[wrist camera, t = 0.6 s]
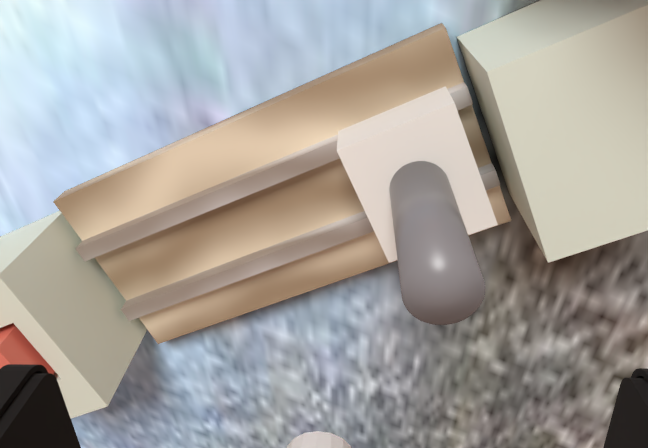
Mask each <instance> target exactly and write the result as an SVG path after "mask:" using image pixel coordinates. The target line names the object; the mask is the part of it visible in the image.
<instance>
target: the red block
mask: <svg viewBox="0 0 648 448" xmlns="http://www.w3.org/2000/svg"><path fill="white" fill-rule="evenodd" d="M8 364H27V365H43V366H44V367H45V368H46V369H47V371H48V373H51V374H54V373H55V371H54V370H53V369H52V367H51V366H50V365H49V364H48V363H47V362H46V360H45V359H44V358H43V357H42V356H41V355H40V353H39V352H38V351H37V350H36V349H35V348H34V347H33V345H32V344H31V343H30V342H29V341H28V340H27V338H26V337H25V336H24V335H23V334H22V333H21V331H20V330H19V329H18V328H17V327H16V326H15V325H14V323H12V324H9V325H6V326H4V327H1V328H0V369H1V368H2V367H3V366H5V365H8Z"/></svg>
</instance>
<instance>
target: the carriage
mask: <svg viewBox="0 0 648 448" xmlns="http://www.w3.org/2000/svg"><path fill="white" fill-rule="evenodd" d="M337 153H338V155H339V157H340V159H341V161H342V163H343V166H344V168H345V170H346V172H347V174H348V176H349V178H350V180H351V183H352V185H353V187H354V189H355V191H356V193H357V195H358V198H359V200H360V202H361V204H362V206H363V208H364V210H365V213H366V215H367V217H368V219H369V221H370V223H371V225H372V228H373V230H374V232H375V234H376V236H377V238H378V240H379V243H380V245H381V247H382V249H383V251H384V253H385V255H386V258H387V260H388V262H389V263H390V262H393V261H396V260H398V268H399V276H400V285H401V293H402V299H403V302H404V305H405V307H406V308H407V310H408V311H409V312H410V313H411V314H412V315H413V316H414V317H416V318H417V319H419V320H421V321H423V322H426V323H430V324H435V325H447V324H452V323H456V322H459V321H462V320H464V319H466V318H467V317H469V316H470V315H472V314H473V313H474V312H475V311H476V310H477V309H478V308H479V306H480V305H481V303H482V301H483V299H484V295H485V282H484V278H483V276H482V273H481V270H480V267H479V264H478V261H477V259H476V256H475V253H474V250H473V247H472V245H471V242H470V239H469V236H468V235H470V234H473V233H476V232H479V231H482V230H484V229H487V228H490V227H493V226H496V225H498V224H497V221H496V218H495V216H494V213H493V210H492V207H491V204H490V201H489V199H488V196H487V193H486V190H485V187H484V184H483V182H482V179H481V176H480V173H479V170H478V168H477V165H476V162H475V159H474V156H473V153H472V151H471V148H470V145H469V142H468V139H467V136H466V134H465V131H464V128H463V125H462V122H461V120H460V117H459V114H458V111H457V108H456V105H455V103H454V101H453V99H452V97H451V95H450V93H449V91H448V90H447V88H446V86H445V87H442V88H440V89H438V90H435V91H433V92H430V93H428V94H426V95H423V96H421V97H419V98H416V99H414V100H411V101H409V102H407V103H404V104H402V105H399V106H397V107H395V108H392V109H390V110H387V111H385V112H383V113H380V114H378V115H375V116H373V117H371V118H368V119H366V120H363V121H361V122H359V123H356V124H354V125H352V126H349V127H347V128H344V129H342V130H340V131H338V141H337Z"/></svg>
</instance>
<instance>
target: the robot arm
mask: <svg viewBox="0 0 648 448" xmlns="http://www.w3.org/2000/svg"><path fill="white" fill-rule="evenodd" d="M0 448H81V447H80V444H79V442H78V439H77V436H76V433H75V430H74V427H73V424H72V422H71V419H70V416H69V413H68V410H67V407H66V404H65V402H64V399H63V396H62V393H61V390H60V387H59V384H58V382H57V379H56V377H55V375H53V374H51V373H48V371H47V369H46V368H45V367H44V366H43V365H27V364H8V365H5V366H3V367H2V368H1V369H0ZM604 448H648V369H636V370H635V371H634V372H633V374H632V376H631V378H624V379H623V380H622V382H621V385H620V388H619V392H618V396H617V399H616V403H615V407H614V411H613V414H612V418H611V422H610V426H609V429H608V433H607V437H606V440H605V444H604Z"/></svg>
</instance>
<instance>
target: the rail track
mask: <svg viewBox="0 0 648 448" xmlns="http://www.w3.org/2000/svg"><path fill="white" fill-rule="evenodd" d="M445 86H446V88H447V90H448V91H449V93H450V95H451V97H452V99H453V101H454V103H455V105H456V108H457V111H458V114H459V117H460V120H461V122H462V125H463V128H464V131H465V134H466V136H467V139H468V142H469V145H470V148H471V151H472V153H473V156H474V159H475V162H476V165H477V168H478V170H479V173H480V176H481V179H482V182H483V184H484V187H485V190H486V193H487V196H488V199H489V201H490V204H491V207H492V210H493V213H494V216H495V218H496V221H497V224H498V225H500V224H503V223H506V222H509V221H511V218H510V215H509V212H508V209H507V207H506V204H505V201H504V198H503V195H502V192H501V189H500V182H499V179H498V176H497V173H496V170H495V168H494V166H493V164H492V163H491V160H490V157H489V154H488V151H487V148H486V145H485V142H484V139H483V136H482V133H481V130H480V127H479V124H478V121H477V119H476V116H475V113H474V110H473V107H472V105H473V102H472V99H471V96H470V93H469V90H468V88H467V86H466V84H465V83H464V80H463V77H462V75H461V72H460V69H459V66H458V63H457V60H456V57H455V54H454V51H453V48H452V45H451V42H450V39H449V36H448V34H447V31H446V28H445V26H444V25H443V24H442V23H441V24H438V25H436V26H434V27H432V28H429V29H427V30H425V31H423V32H420V33H418V34H416V35H414V36H411V37H409V38H407V39H405V40H402V41H400V42H398V43H396V44H394V45H391V46H389V47H387V48H385V49H382V50H380V51H378V52H376V53H373V54H371V55H369V56H367V57H364V58H362V59H360V60H358V61H355V62H353V63H351V64H349V65H346V66H344V67H342V68H340V69H338V70H335V71H333V72H331V73H329V74H326V75H324V76H322V77H320V78H317V79H315V80H313V81H311V82H308V83H306V84H304V85H302V86H299V87H297V88H295V89H293V90H290V91H288V92H286V93H284V94H281V95H279V96H277V97H275V98H273V99H270V100H268V101H266V102H264V103H261V104H259V105H257V106H255V107H252V108H250V109H248V110H246V111H243V112H241V113H239V114H237V115H234V116H232V117H230V118H228V119H225V120H223V121H221V122H219V123H216V124H214V125H212V126H210V127H208V128H205V129H203V130H201V131H199V132H196V133H194V134H192V135H190V136H187V137H185V138H183V139H181V140H178V141H176V142H174V143H172V144H169V145H167V146H165V147H163V148H160V149H158V150H156V151H154V152H152V153H149V154H147V155H145V156H143V157H140V158H138V159H136V160H134V161H131V162H129V163H127V164H125V165H122V166H120V167H118V168H116V169H113V170H111V171H109V172H107V173H104V174H102V175H100V176H98V177H95V178H93V179H91V180H89V181H87V182H84V183H82V184H80V185H78V186H75V187H73V188H71V189H69V190H66V191H64V192H63V193H62V194H61V195H60V196H59V197H58V198H57V199H56V200H55V201H53V202H54V203H55V205H56V206H57V207H58V209H59V210H60V211H61V213H62V214H63V215H64V217H65V218H66V220H67V221H68V222H69V224H70V225H71V226H72V228H73V229H74V230H75V232H76V233H77V234H78V236H79V237H80V239H81V240H82V242H81V243H80V244H79V245H78V246H77V247H76V251H77V252H78V253H79V255H80V256H81V257H82V259H83V260H84V261H88V260H90V259H92V258H95V259H96V260H97V262H98V263H99V264H100V266H101V267H102V268H103V270H104V271H105V273H106V274H107V275H108V277H109V278H110V279H111V281H112V282H113V283H114V285H115V286H116V287H117V289H118V290H119V292H120V293H121V294H122V296H123V297H124V298H125V300H126V302H125V303H124V305H123V307H122V308H121V311H122V312H123V313H124V315H125V316H126V317H127V319H128V320H129V321H131V320H133V319H136V318H139V319H140V320H141V321H142V323H143V324H144V326H145V327H146V328H147V330H148V331H149V332H150V334H151V335H152V336H153V338H154V339H155V340H156V342H157V343H158V344H159V343H162V342H165V341H168V340H171V339H174V338H177V337H180V336H182V335H185V334H188V333H191V332H194V331H197V330H200V329H202V328H205V327H208V326H211V325H214V324H217V323H220V322H222V321H225V320H228V319H231V318H234V317H237V316H240V315H243V314H245V313H248V312H251V311H254V310H257V309H260V308H263V307H265V306H268V305H271V304H274V303H277V302H280V301H283V300H285V299H288V298H291V297H294V296H297V295H300V294H303V293H306V292H308V291H311V290H314V289H317V288H320V287H323V286H326V285H328V284H331V283H334V282H337V281H340V280H343V279H346V278H349V277H351V276H354V275H357V274H360V273H363V272H366V271H369V270H371V269H374V268H377V267H380V266H383V265H386V264H389V262H388V260H387V258H386V255H385V253H384V251H383V249H382V247H381V245H380V243H379V240H378V238H377V236H376V234H375V232H374V230H373V228H372V225H371V223H370V221H369V219H368V217H367V215H366V213H365V210H364V208H363V206H362V204H361V202H360V200H359V198H358V195H357V193H356V191H355V189H354V187H353V185H352V183H351V180H350V178H349V176H348V174H347V172H346V170H345V168H344V166H343V163H342V161H341V159H340V157H339V155H338V153H337V141H338V131H340V130H342V129H344V128H347V127H349V126H352V125H354V124H356V123H359V122H361V121H363V120H366V119H368V118H371V117H373V116H375V115H378V114H380V113H383V112H385V111H387V110H390V109H392V108H395V107H397V106H399V105H402V104H404V103H407V102H409V101H411V100H414V99H416V98H419V97H421V96H423V95H426V94H428V93H430V92H433V91H435V90H438V89H440V88H442V87H445ZM496 226H497V225H496ZM493 227H495V226H493ZM490 228H492V227H490ZM487 229H489V228H487ZM484 230H486V229H484ZM482 231H483V230H482ZM479 232H480V231H479ZM476 233H477V232H476ZM473 234H475V233H473ZM470 235H472V234H470ZM468 236H469V235H468ZM396 261H397V260H396ZM393 262H394V261H393ZM390 263H391V262H390Z"/></svg>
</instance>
